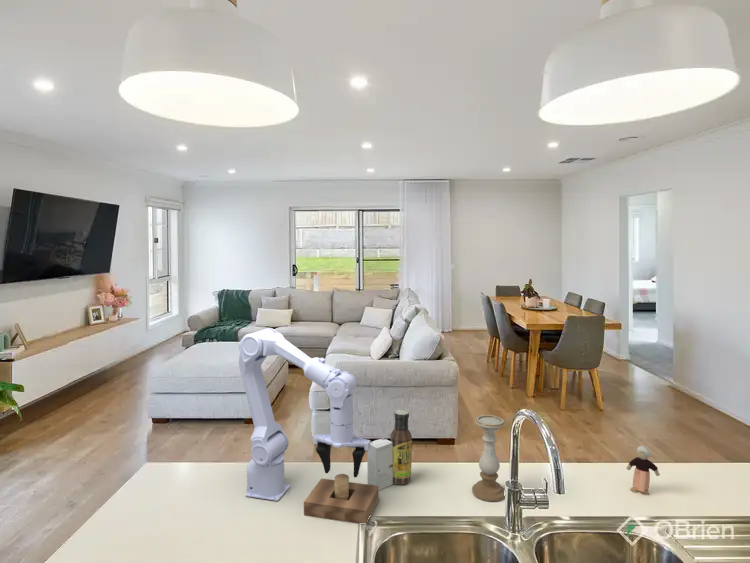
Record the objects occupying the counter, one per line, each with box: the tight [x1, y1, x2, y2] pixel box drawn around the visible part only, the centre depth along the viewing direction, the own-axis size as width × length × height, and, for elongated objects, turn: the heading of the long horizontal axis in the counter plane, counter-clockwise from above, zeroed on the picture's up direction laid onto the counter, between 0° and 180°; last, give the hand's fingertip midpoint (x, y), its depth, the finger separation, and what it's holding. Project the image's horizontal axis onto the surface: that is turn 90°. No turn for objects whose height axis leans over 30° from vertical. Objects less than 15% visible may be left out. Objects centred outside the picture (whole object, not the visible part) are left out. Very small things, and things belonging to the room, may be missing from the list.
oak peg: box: [334, 473, 350, 500], centre depth 121 cm, size 4×4×8 cm
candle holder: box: [471, 414, 506, 502], centre depth 127 cm, size 9×9×20 cm
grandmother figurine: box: [626, 445, 661, 496], centre depth 128 cm, size 8×4×13 cm, turn 68°
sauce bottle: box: [389, 409, 413, 485], centre depth 134 cm, size 6×6×20 cm
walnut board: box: [303, 478, 380, 525], centre depth 122 cm, size 16×12×4 cm
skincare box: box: [366, 438, 394, 490], centre depth 132 cm, size 6×4×12 cm
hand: (341, 473), depth 121 cm, fingers open, 7 cm apart
